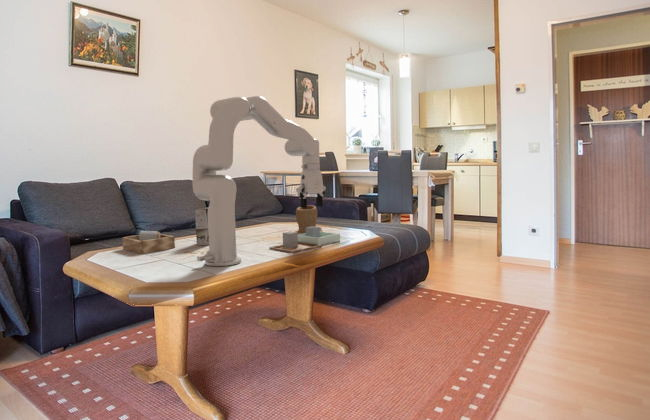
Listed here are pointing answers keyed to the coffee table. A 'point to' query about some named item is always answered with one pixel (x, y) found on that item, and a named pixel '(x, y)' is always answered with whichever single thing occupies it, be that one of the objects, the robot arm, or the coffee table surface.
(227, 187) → the robot arm
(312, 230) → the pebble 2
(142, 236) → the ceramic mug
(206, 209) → the coffee box
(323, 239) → the pale green square tray
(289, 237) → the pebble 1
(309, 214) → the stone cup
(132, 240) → the wooden box
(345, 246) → the coffee table surface
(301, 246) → the tray
